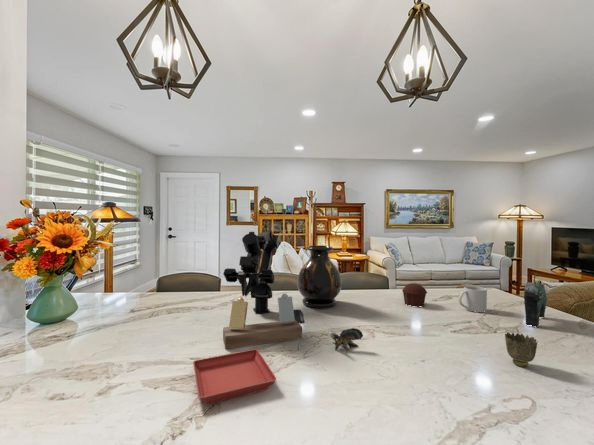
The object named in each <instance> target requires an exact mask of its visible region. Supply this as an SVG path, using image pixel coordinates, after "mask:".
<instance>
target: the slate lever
mask: <svg viewBox="0 0 594 445" xmlns="http://www.w3.org/2000/svg"><path fill="white" fill-rule="evenodd" d="M277 305H278V306H277V307H278V312H279V313H278V314H279V316H278V317H279V321H280V323H285V322H294V321H295V318H294V310H295V309H294V303H293V296H289V295H288V294H287V293H282V295H281V297H278V298H277Z"/></svg>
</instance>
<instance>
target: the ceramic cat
mask: <svg viewBox="0 0 594 445" xmlns="http://www.w3.org/2000/svg"><path fill="white" fill-rule="evenodd" d="M538 276H539V275H538V273H535V274H534V275H533V282H526V283H525V286H524V290H523V300H524V301H523V302H524V303H523V304H524V312H525V325H526V324H527V325H532V326H536V327H537V326H538V325H540V319H539V317H544V318H545V315H546V314H545V312H546V307H547V301H548V300H547V293H546V292H547V291H546V288H545V285H544V284H542V283H543V282H542V280H540V279H538V280H537V281H536V277H538ZM538 327H539V326H538ZM538 327H537V328H538Z"/></svg>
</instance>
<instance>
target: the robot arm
mask: <svg viewBox="0 0 594 445" xmlns="http://www.w3.org/2000/svg"><path fill="white" fill-rule="evenodd" d="M241 241H242V243H243V247H244V250H245V252H246V253H247V255H246V256H245V255H243V256H242V255H241V256H240V258H239V266H240V270H238V271H237V270H236V268H228V267H227V268H225V269H224V271H223V275H224V278H225V280H226V282H227V283H235V282H238V283H239V284H240V285H241V286H240V287H241V295H242V297H247V296H248V295H249V294H250V298H251V299H254V307H253V308H252V310H253V312H254V313H255V314H265V313H270V312H271V310H270V309H269V300H270V299H273V289H272V286H271V284H274V283H275V275H274V271H273V269H271V264H272V260H273V256H274V255H276V254H277V250H278V249H279V239H278V237H277V235H275V234H274V233H273V231H271V230H262V231H261V232H260V233H259V234H257V235H256V233H255V231H249V233H247V234H245V235H244V236H243V237H242V238H241ZM247 279H248V281H247Z"/></svg>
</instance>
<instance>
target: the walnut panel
mask: <svg viewBox="0 0 594 445" xmlns="http://www.w3.org/2000/svg"><path fill="white" fill-rule="evenodd" d="M222 339H223V340H222V341H223V345H224V349H225V350H229V349H235V348H241V347H242V348H243V347H248V346H257V345H264V344H272V343H278V342H287V341H295V340H302V339H303V326H302V325H301V323H298V322H297V321H296V320H295V321H294V322H285V323H280V320H277V321H269V322H261V323H253V324H252V323H251V324H245V328H230V327H229V326H226V327H222Z"/></svg>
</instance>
